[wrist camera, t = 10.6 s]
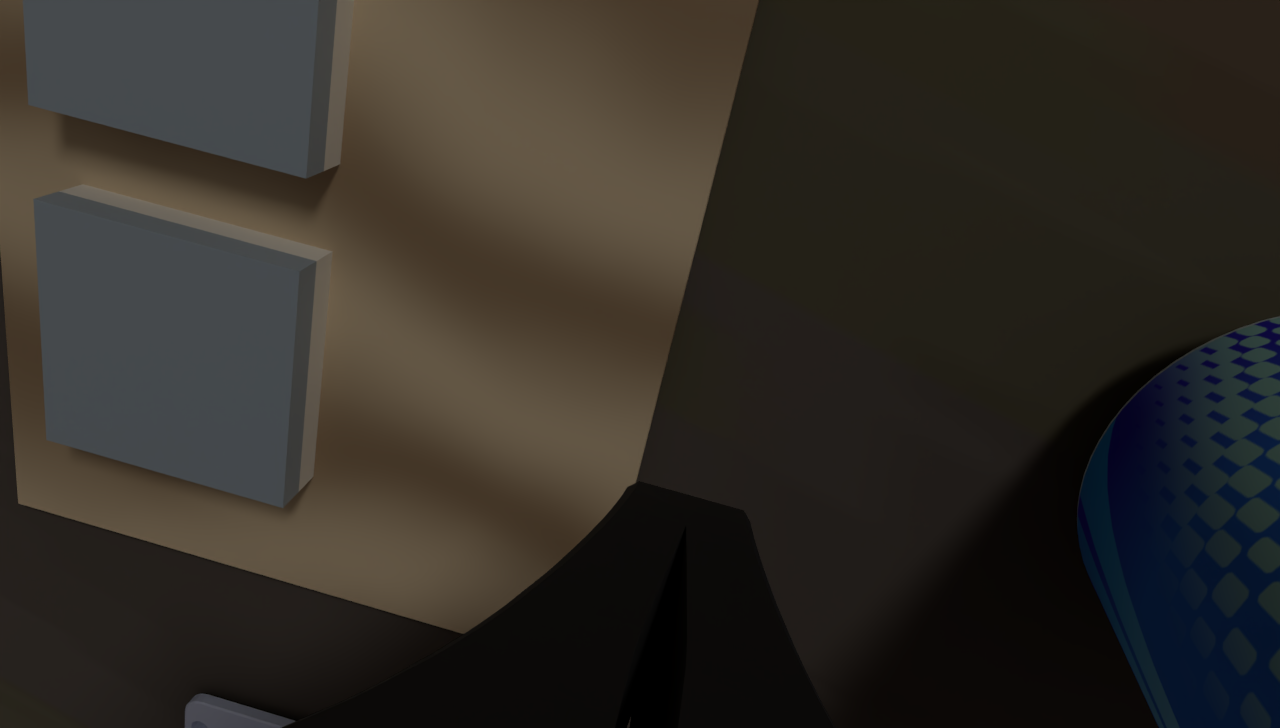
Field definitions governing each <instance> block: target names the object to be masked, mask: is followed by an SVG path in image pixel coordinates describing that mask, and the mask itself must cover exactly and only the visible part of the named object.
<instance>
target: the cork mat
mask: <svg viewBox="0 0 1280 728" xmlns="http://www.w3.org/2000/svg"><path fill="white" fill-rule="evenodd" d="M758 4H759V0H354V8H353V19H352V31H351V43H350V54H349V66H348V78H347V90H346V101H345V113H344V125H343V136H342V148H341V160H340V165H337V166H335V167H333V168H330V169H328V170H325V171H323V172H321V173H318V174H316V175H314V176H311V177H309V178H307V179H306V178H302V177H298V176H294V175H291V174H287V173H283V172H279V171H275V170H272V169H268V168H264V167H260V166H257V165H253V164H249V163H245V162H242V161H238V160H234V159H230V158H226V157H223V156H219V155H215V154H211V153H208V152H204V151H200V150H196V149H193V148H189V147H185V146H181V145H177V144H174V143H170V142H166V141H162V140H159V139H155V138H151V137H147V136H144V135H140V134H136V133H132V132H128V131H125V130H121V129H117V128H113V127H110V126H106V125H102V124H98V123H95V122H91V121H87V120H83V119H79V118H76V117H72V116H68V115H64V114H61V113H57V112H53V111H49V110H46V109H42V108H38V107H34V106H30V105H28V88H27V70H26V51H25V32H24V14H23V0H0V251H1V265H2V279H3V294H4V308H5V322H6V336H7V350H8V364H9V378H10V393H11V407H12V421H13V435H14V449H15V463H16V477H17V492H18V503H19V504H22V505H25V506H29V507H32V508H36V509H39V510H43V511H46V512H49V513H53V514H56V515H60V516H63V517H66V518H70V519H73V520H77V521H80V522H83V523H87V524H90V525H94V526H97V527H100V528H104V529H107V530H111V531H114V532H118V533H121V534H124V535H128V536H131V537H135V538H138V539H141V540H145V541H148V542H152V543H155V544H158V545H162V546H165V547H169V548H172V549H175V550H179V551H182V552H186V553H189V554H193V555H196V556H199V557H203V558H206V559H210V560H213V561H216V562H220V563H223V564H227V565H230V566H233V567H237V568H240V569H244V570H247V571H250V572H254V573H257V574H261V575H264V576H268V577H271V578H274V579H278V580H281V581H285V582H288V583H291V584H295V585H298V586H302V587H305V588H308V589H312V590H315V591H319V592H322V593H325V594H329V595H332V596H336V597H339V598H343V599H346V600H349V601H353V602H356V603H360V604H363V605H366V606H370V607H373V608H377V609H380V610H383V611H387V612H390V613H394V614H397V615H400V616H404V617H407V618H411V619H414V620H418V621H421V622H424V623H428V624H431V625H435V626H438V627H441V628H445V629H448V630H452V631H455V632H458V633H462V634H465V633H466V632H468V631H469V630H471V629H472V628H474V627H475V626H477V625H478V624H480V623H481V622H482V621H484V620H485V619H487V618H488V617H490V616H491V615H492V614H494V613H495V612H497V611H498V610H499V609H501V608H502V607H503V606H505V605H506V604H507V603H509V602H510V601H511V600H512V599H514V598H515V597H516V596H517V595H519V594H520V593H521V592H523V591H524V590H525V589H526V588H528V587H529V586H530V585H531V584H533V583H534V582H535V581H536V580H538V579H539V578H540V577H541V576H543V575H544V574H545V573H546V572H548V571H549V570H550V569H551V568H552V567H553V566H554V565H556V564H557V563H558V562H559V561H560V560H561V559H562V558H563V557H564V556H565V555H566V554H567V553H569V552H570V551H571V550H572V549H573V548H574V547H575V546H576V545H577V544H578V543H579V542H580V541H581V540H582V539H583V538H585V537H586V536H587V535H588V534H589V533H590V532H591V531H592V529H593V528H594V527H595V526H596V525H597V524H598V523H599V522H600V521H601V520H602V519H603V518H604V517H605V516H606V514H607V513H608V512H609V511H610V510H611V509H612V508H613V506H614V505H615V504H616V503H617V501H618V500H619V499H620V497H621V496H622V495H623V493H624V491H625V490H626V488H627V487H628V486H630V485H632V484H634V483H636V481H637V477H638V473H639V469H640V466H641V462H642V458H643V454H644V450H645V446H646V442H647V438H648V434H649V430H650V426H651V423H652V419H653V415H654V411H655V407H656V403H657V399H658V395H659V391H660V387H661V383H662V379H663V376H664V372H665V368H666V364H667V360H668V356H669V352H670V348H671V344H672V340H673V336H674V333H675V329H676V325H677V321H678V317H679V313H680V309H681V305H682V301H683V297H684V293H685V289H686V286H687V282H688V278H689V274H690V270H691V266H692V262H693V258H694V254H695V250H696V246H697V243H698V239H699V235H700V231H701V227H702V223H703V219H704V215H705V211H706V207H707V203H708V200H709V196H710V192H711V188H712V184H713V180H714V176H715V172H716V168H717V164H718V160H719V156H720V153H721V149H722V145H723V141H724V137H725V133H726V129H727V125H728V121H729V117H730V113H731V110H732V106H733V102H734V98H735V94H736V90H737V86H738V82H739V78H740V74H741V70H742V66H743V63H744V59H745V55H746V51H747V47H748V43H749V39H750V35H751V31H752V27H753V23H754V20H755V16H756V12H757V8H758ZM82 184H84V185H88V186H91V187H95V188H99V189H103V190H106V191H110V192H114V193H117V194H121V195H125V196H129V197H132V198H136V199H140V200H143V201H147V202H151V203H154V204H158V205H162V206H166V207H169V208H173V209H177V210H180V211H184V212H188V213H192V214H195V215H199V216H203V217H206V218H210V219H214V220H217V221H221V222H225V223H229V224H232V225H236V226H240V227H243V228H247V229H251V230H255V231H258V232H262V233H266V234H269V235H273V236H277V237H280V238H284V239H288V240H292V241H295V242H299V243H303V244H306V245H310V246H314V247H318V248H321V249H325V250H329V251H332V252H333V253H332V265H331V276H330V288H329V300H328V311H327V323H326V335H325V347H324V358H323V370H322V382H321V394H320V405H319V417H318V429H317V440H316V452H315V464H314V476H313V478H312V479H311V480H310V481H309V482H308V483H307V484H306V485H305V486H304V487H303V488H302V489H301V490H300V491H299V492H298V493H297V494H296V495H295V496H294V497H293V498H292V499H291V500H290V501H289V502H288V503H287V504H286V505H285V507H284V508H281V507H277V506H274V505H270V504H267V503H263V502H260V501H256V500H253V499H249V498H246V497H242V496H239V495H236V494H232V493H229V492H225V491H222V490H218V489H215V488H211V487H208V486H204V485H201V484H197V483H194V482H190V481H187V480H184V479H180V478H177V477H173V476H170V475H166V474H163V473H159V472H156V471H152V470H149V469H145V468H142V467H138V466H135V465H132V464H128V463H125V462H121V461H118V460H114V459H111V458H107V457H104V456H100V455H97V454H93V453H90V452H86V451H83V450H79V449H76V448H73V447H69V446H66V445H62V444H59V443H55V442H52V441H48V440H46V423H45V405H44V386H43V368H42V349H41V330H40V312H39V293H38V275H37V256H36V238H35V219H34V201H33V199H35V198H39V197H42V196H45V195H49V194H52V193H55V192H59V191H62V190H65V189H69V188H72V187H75V186H79V185H82Z"/></svg>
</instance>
